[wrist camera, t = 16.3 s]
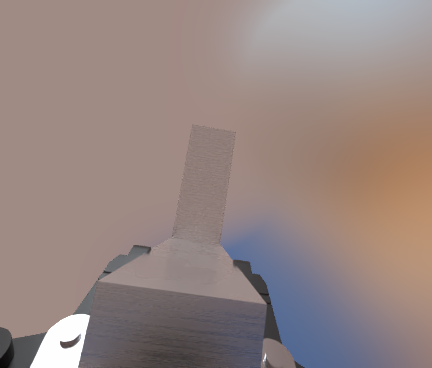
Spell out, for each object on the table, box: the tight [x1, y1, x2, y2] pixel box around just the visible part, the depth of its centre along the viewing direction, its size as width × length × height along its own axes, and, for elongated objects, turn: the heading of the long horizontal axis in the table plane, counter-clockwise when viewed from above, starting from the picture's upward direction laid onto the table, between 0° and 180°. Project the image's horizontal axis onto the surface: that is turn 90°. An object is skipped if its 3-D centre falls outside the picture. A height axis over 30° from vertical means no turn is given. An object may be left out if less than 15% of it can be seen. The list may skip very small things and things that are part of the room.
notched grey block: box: [77, 125, 267, 368], centre depth 14 cm, size 4×17×14 cm, turn 4°
